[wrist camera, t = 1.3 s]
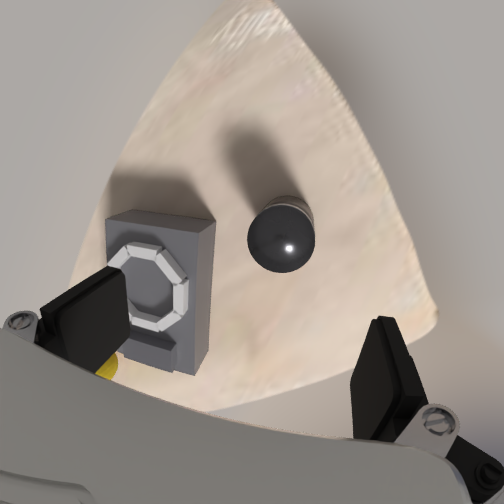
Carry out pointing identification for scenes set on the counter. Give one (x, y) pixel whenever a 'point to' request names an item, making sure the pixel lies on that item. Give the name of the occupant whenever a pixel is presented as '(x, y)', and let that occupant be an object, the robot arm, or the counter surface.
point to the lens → (282, 235)
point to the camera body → (164, 286)
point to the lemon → (109, 368)
